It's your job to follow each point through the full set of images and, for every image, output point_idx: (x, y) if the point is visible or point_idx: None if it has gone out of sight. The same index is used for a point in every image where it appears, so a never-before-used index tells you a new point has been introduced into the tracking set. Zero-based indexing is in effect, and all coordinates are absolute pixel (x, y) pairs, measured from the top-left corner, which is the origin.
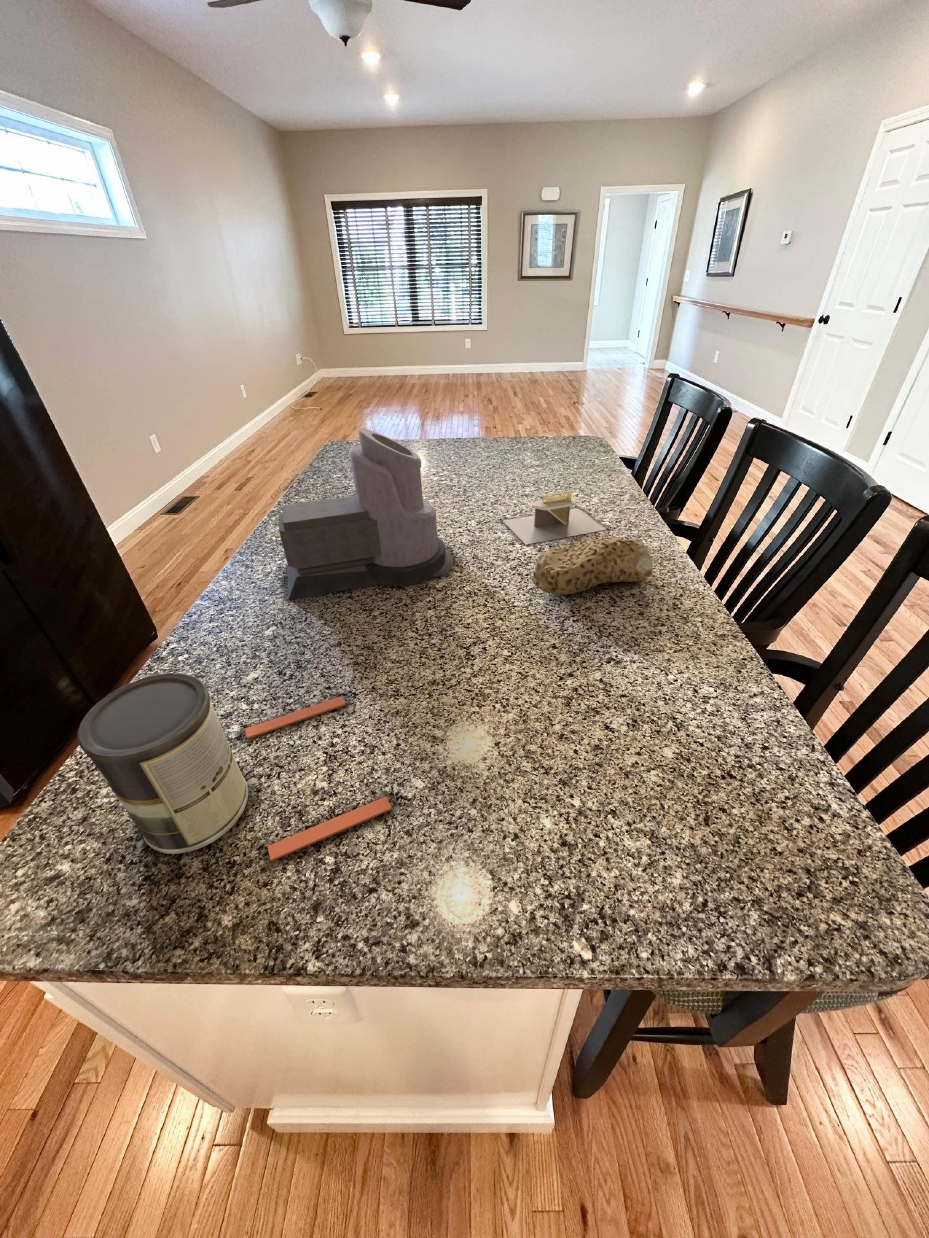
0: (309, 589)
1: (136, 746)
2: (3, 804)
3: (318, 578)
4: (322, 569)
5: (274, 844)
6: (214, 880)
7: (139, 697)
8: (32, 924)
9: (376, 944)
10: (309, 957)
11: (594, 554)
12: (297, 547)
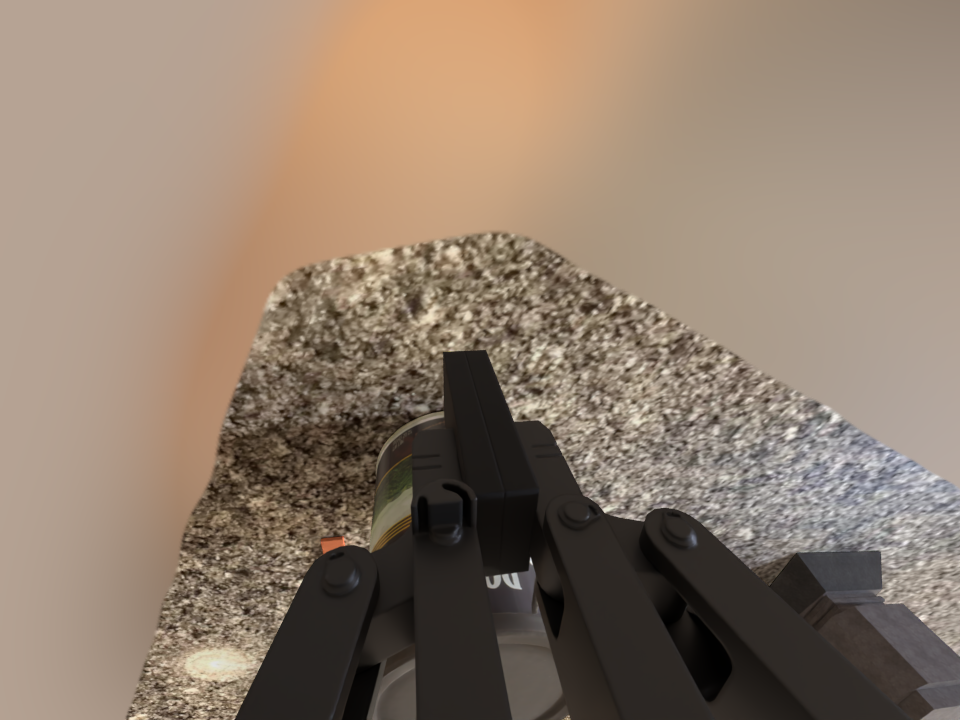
0: (790, 583)
1: (381, 706)
2: (444, 410)
3: (798, 605)
4: (808, 620)
5: (342, 544)
6: (319, 489)
7: (535, 683)
8: (339, 287)
9: (182, 611)
10: (184, 566)
11: None
12: (865, 664)
